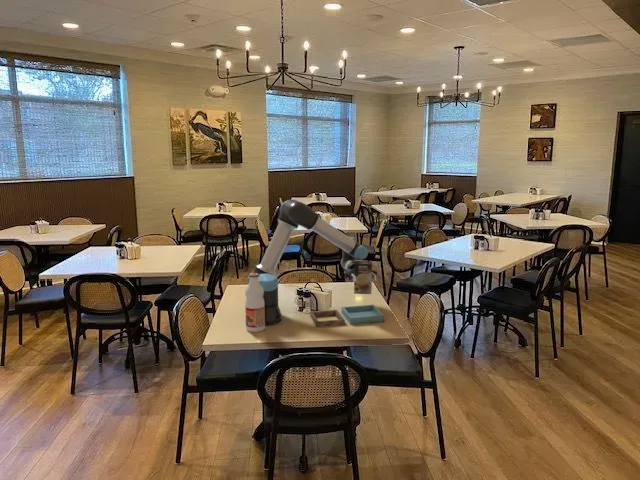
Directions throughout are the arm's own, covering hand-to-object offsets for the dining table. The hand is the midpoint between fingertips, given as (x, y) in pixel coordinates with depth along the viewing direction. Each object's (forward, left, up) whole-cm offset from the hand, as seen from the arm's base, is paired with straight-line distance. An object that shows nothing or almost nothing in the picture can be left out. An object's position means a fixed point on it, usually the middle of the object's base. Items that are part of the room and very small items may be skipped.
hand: (365, 278), depth 253 cm
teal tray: (0, +4, -22) cm, 22 cm away
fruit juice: (-56, 0, -22) cm, 60 cm away
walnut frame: (-19, +4, -22) cm, 30 cm away
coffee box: (0, +4, -9) cm, 10 cm away
